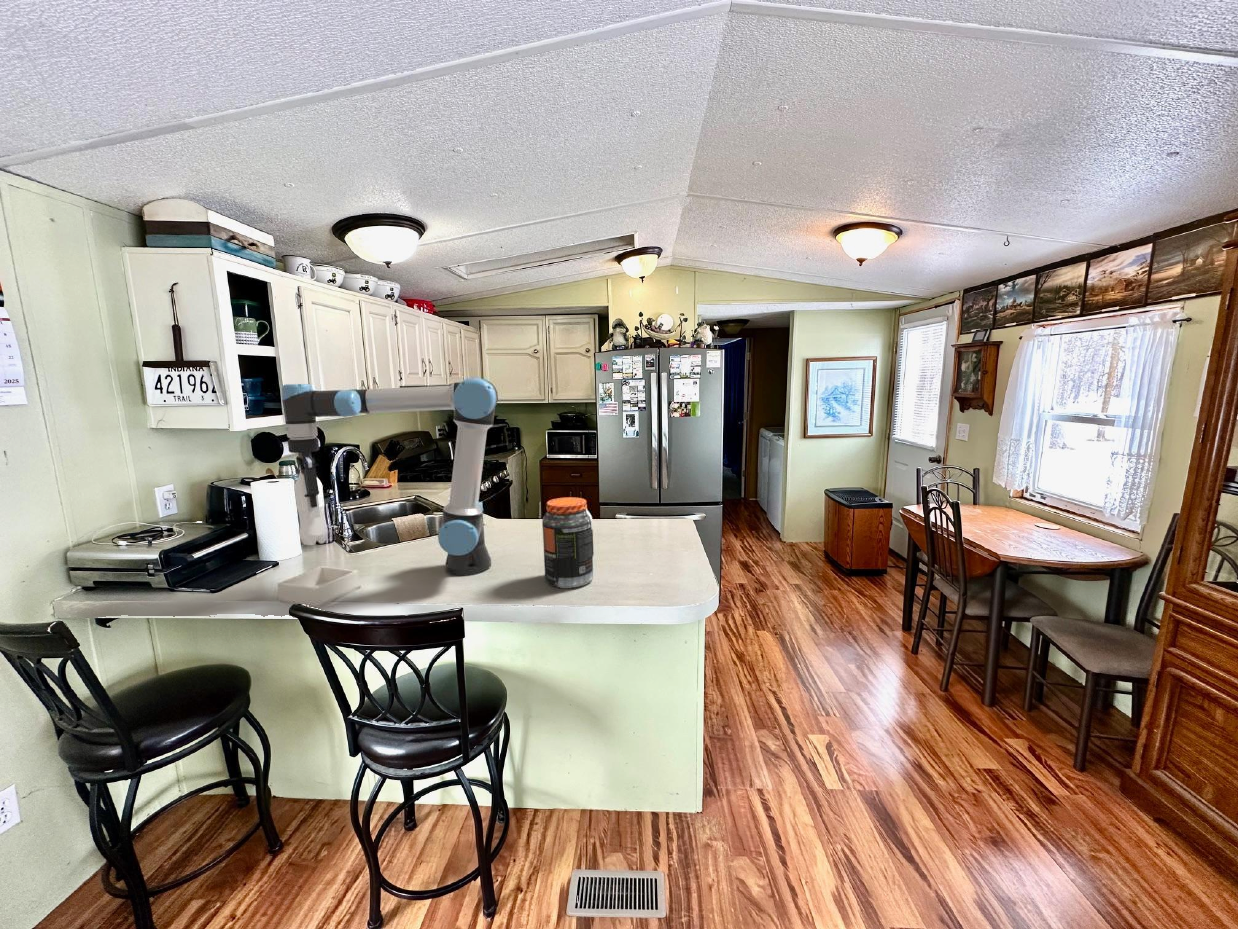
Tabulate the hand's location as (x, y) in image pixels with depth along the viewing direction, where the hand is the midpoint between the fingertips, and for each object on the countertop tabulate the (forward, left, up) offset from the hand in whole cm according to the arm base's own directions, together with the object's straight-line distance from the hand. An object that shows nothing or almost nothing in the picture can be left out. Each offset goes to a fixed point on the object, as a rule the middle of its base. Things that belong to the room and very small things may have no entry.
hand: (312, 515), depth 148 cm
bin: (0, 0, -25) cm, 25 cm away
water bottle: (0, 0, -9) cm, 9 cm away
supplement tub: (-68, -32, -25) cm, 79 cm away
